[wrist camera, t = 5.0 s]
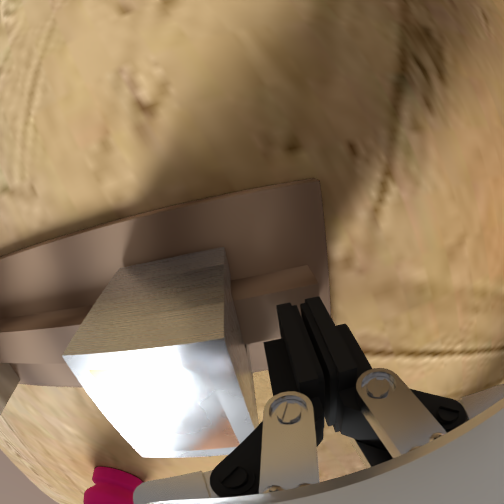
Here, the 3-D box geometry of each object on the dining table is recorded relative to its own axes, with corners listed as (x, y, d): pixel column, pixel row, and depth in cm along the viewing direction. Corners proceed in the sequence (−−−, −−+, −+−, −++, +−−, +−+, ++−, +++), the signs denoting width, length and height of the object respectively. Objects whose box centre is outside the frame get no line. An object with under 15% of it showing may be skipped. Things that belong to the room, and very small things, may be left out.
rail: (314, 178, 13) (419, 235, 5) (327, 346, 16) (375, 456, 9) (-46, 274, 12) (-106, 328, 5) (10, 376, 16) (-26, 441, 9)
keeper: (223, 246, 12) (223, 338, 7) (249, 351, 15) (262, 449, 9) (119, 268, 12) (61, 355, 7) (160, 363, 15) (142, 456, 9)
